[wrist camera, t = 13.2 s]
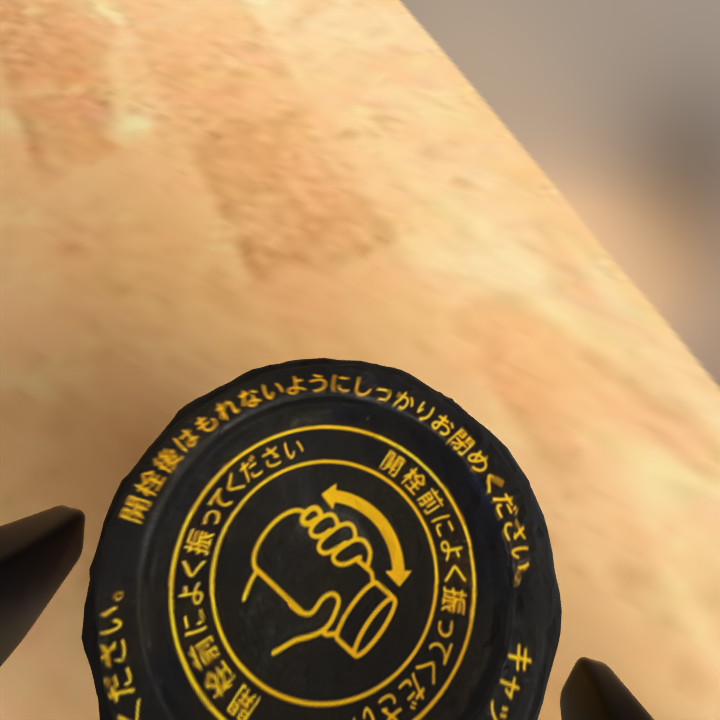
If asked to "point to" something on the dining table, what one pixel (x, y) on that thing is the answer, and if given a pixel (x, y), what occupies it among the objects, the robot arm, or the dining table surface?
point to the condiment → (323, 560)
